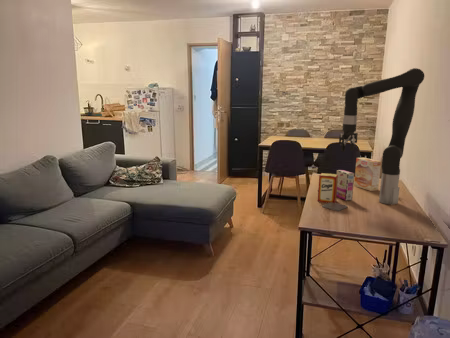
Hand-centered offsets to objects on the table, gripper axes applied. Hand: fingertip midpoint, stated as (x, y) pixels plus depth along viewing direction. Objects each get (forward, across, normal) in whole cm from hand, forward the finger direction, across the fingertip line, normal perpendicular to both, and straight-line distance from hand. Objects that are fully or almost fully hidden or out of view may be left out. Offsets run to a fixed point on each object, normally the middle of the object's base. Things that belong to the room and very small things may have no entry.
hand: (347, 151), depth 206 cm
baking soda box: (+29, -13, +2) cm, 32 cm away
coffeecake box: (+29, +33, +6) cm, 44 cm away
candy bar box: (+29, 0, 0) cm, 29 cm away
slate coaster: (+29, -19, -8) cm, 35 cm away
